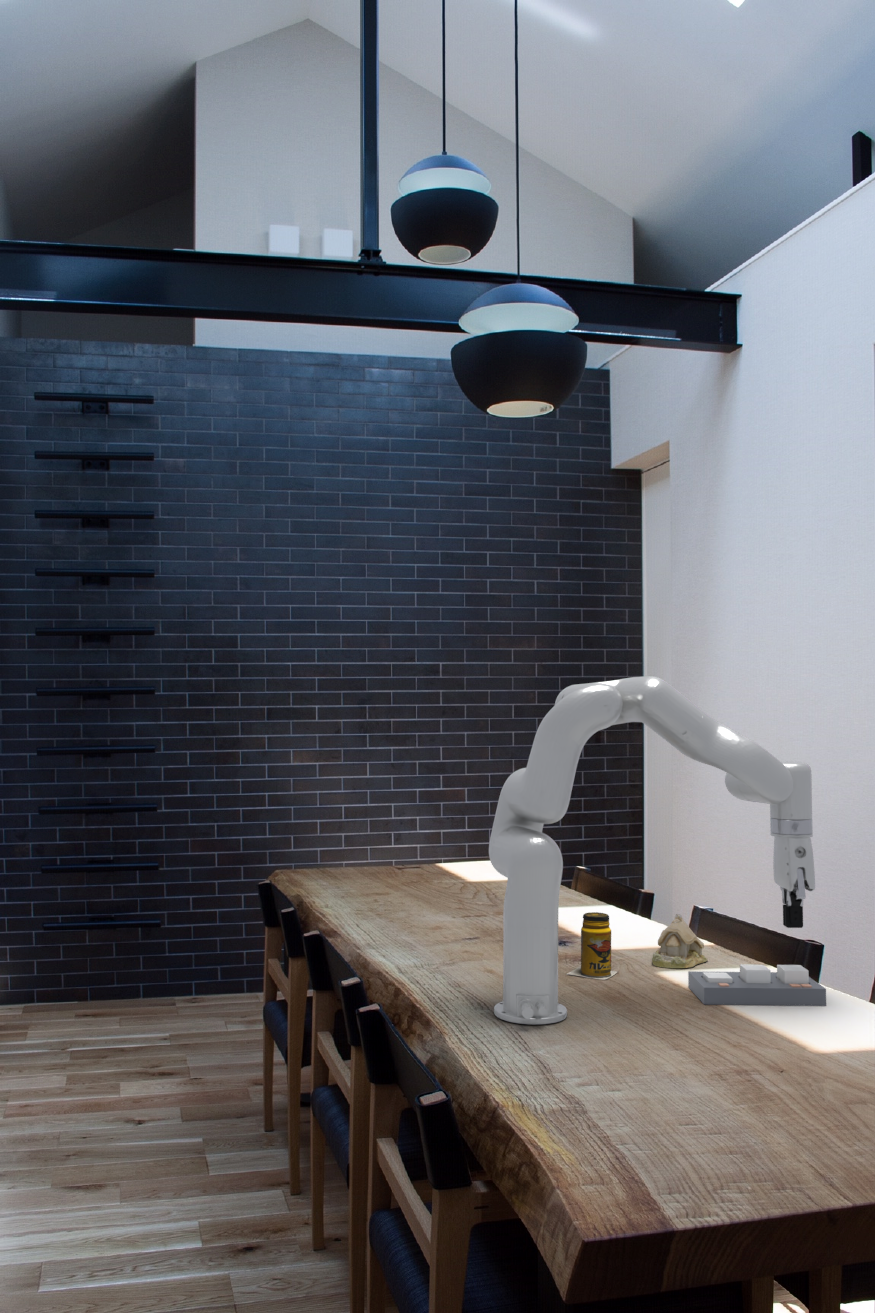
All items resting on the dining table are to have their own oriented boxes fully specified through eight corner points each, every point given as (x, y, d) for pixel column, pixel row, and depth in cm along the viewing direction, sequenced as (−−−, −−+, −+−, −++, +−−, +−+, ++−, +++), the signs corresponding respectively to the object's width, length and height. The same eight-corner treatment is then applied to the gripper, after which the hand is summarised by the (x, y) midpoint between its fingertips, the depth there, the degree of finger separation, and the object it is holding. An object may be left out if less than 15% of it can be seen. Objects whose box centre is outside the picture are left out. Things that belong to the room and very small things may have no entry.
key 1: (808, 990, 194) (808, 970, 194) (784, 989, 194) (784, 970, 194) (800, 984, 198) (800, 965, 199) (777, 983, 198) (776, 964, 199)
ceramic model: (659, 953, 232) (659, 907, 233) (711, 958, 227) (711, 911, 228) (643, 966, 219) (643, 918, 220) (698, 972, 214) (698, 923, 215)
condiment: (605, 980, 207) (605, 918, 208) (565, 975, 211) (565, 914, 212) (618, 973, 213) (618, 913, 214) (579, 967, 217) (579, 908, 218)
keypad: (826, 1005, 190) (825, 987, 190) (704, 1004, 190) (704, 986, 190) (803, 988, 202) (803, 971, 202) (688, 987, 202) (688, 970, 202)
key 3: (732, 997, 194) (732, 978, 194) (708, 997, 194) (708, 978, 194) (726, 991, 198) (726, 972, 198) (702, 991, 198) (702, 972, 198)
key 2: (770, 989, 194) (770, 970, 194) (746, 989, 194) (746, 970, 194) (763, 983, 198) (763, 964, 199) (739, 983, 198) (739, 964, 199)
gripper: (825, 832, 190) (828, 935, 189) (797, 823, 205) (799, 919, 204) (784, 832, 190) (786, 935, 189) (759, 823, 205) (760, 919, 204)
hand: (793, 926), depth 197 cm, fingers closed
